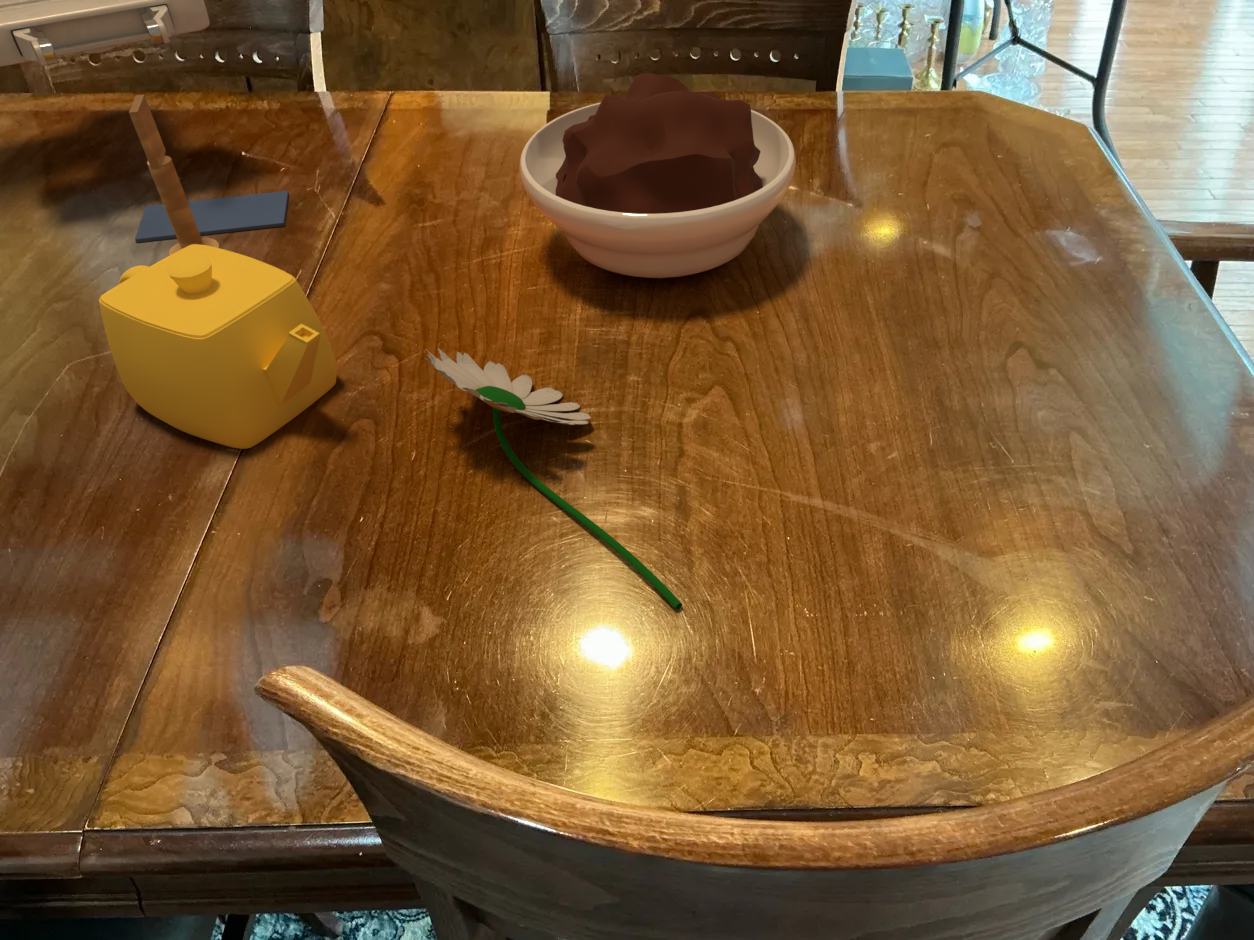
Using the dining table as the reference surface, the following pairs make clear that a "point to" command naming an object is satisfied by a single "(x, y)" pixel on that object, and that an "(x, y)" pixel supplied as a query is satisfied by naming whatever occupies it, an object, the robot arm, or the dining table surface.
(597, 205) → the bowl of brown chunks
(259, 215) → the blue-grey rectangular slab
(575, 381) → the dining table surface
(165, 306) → the teapot
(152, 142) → the wooden peg
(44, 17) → the robot arm
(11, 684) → the dining table surface
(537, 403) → the flower
